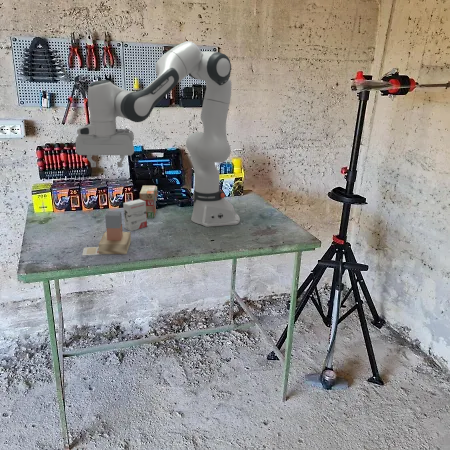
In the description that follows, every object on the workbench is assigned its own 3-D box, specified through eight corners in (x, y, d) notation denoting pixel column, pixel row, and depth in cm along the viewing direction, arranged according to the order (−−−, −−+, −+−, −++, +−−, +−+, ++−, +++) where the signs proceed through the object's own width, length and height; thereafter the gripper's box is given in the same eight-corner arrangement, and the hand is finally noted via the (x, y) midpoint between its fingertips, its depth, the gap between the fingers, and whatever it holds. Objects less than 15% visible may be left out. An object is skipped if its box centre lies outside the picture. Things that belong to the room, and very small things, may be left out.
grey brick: (121, 223, 160) (121, 211, 158) (119, 228, 155) (119, 215, 153) (108, 223, 159) (107, 211, 157) (106, 228, 155) (105, 215, 153)
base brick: (131, 241, 166) (130, 232, 165) (126, 254, 155) (126, 244, 154) (105, 241, 166) (104, 231, 164) (99, 253, 154) (98, 244, 153)
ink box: (141, 223, 185) (139, 198, 180) (147, 226, 182) (146, 201, 177) (124, 228, 179) (122, 202, 175) (130, 231, 176) (128, 205, 172)
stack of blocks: (145, 203, 211) (144, 180, 206) (158, 203, 211) (157, 180, 207) (140, 218, 191) (139, 192, 187) (154, 218, 192) (153, 192, 187)
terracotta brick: (122, 235, 161) (122, 223, 160) (120, 240, 157) (120, 228, 155) (109, 235, 161) (108, 223, 159) (107, 240, 156) (106, 228, 155)
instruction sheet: (108, 246, 161) (108, 246, 161) (107, 254, 155) (107, 253, 155) (84, 247, 159) (84, 247, 159) (82, 255, 153) (82, 255, 153)
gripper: (134, 127, 151) (136, 165, 156) (76, 127, 149) (80, 164, 154) (132, 130, 145) (134, 169, 150) (72, 129, 144) (76, 168, 149)
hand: (106, 167), depth 152 cm, fingers open, 8 cm apart
